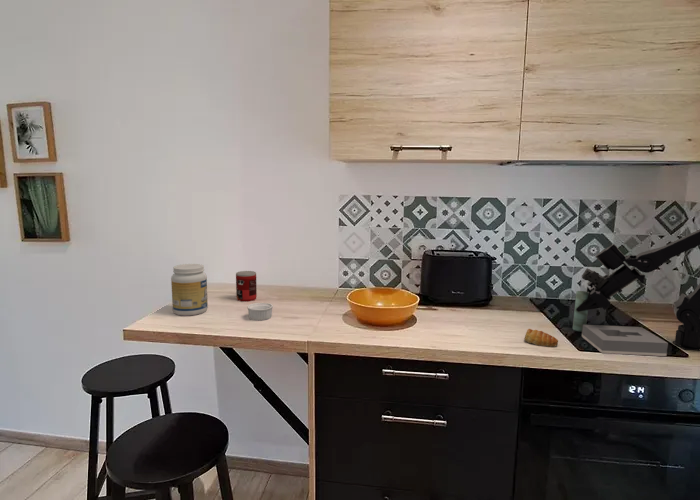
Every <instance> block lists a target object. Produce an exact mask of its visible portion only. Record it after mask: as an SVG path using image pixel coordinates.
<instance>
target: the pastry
mask: <svg viewBox="0 0 700 500" xmlns="http://www.w3.org/2000/svg"><path fill="white" fill-rule="evenodd" d="M523 340H524V341H525V342H526V343H527V344H534V345H535V346H541V347H546V348H551V347H557V346H558V343H559V340H558V339H557V338H556V337H554V336H553V335H551V334H548V333H547V332H544V331H543V330H538V329H532V328H528V329H526V332H525V334H524V338H523Z"/></svg>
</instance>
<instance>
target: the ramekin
mask: <svg viewBox="0 0 700 500" xmlns="http://www.w3.org/2000/svg"><path fill="white" fill-rule="evenodd" d="M246 307H247V311H248V312H247V313H248V318H249V319H250V320H252V321H256V322H259V321H260V322H261V321H267V320H269V319H271V318H272V316H273V307H274V305H273V304H272V303H270V302H255V303H250V304H248V305H247V306H246Z"/></svg>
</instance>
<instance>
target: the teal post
mask: <svg viewBox="0 0 700 500" xmlns="http://www.w3.org/2000/svg"><path fill="white" fill-rule="evenodd" d="M586 291H587V290H586ZM586 291H584V290H577V291H576V292H575V303H574V311H573V320H572V321H573V322H572V330H573V331H576V332H581V333H582V329H583V325H587V323H588V322H587V321H588V313H589V310H585V311H580V312H578V311H577V310H576V308H577V307H578V306H579V305H580V304H581V303H583V302H584V301H585V300H586V299H587V297H588V292H586Z"/></svg>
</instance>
